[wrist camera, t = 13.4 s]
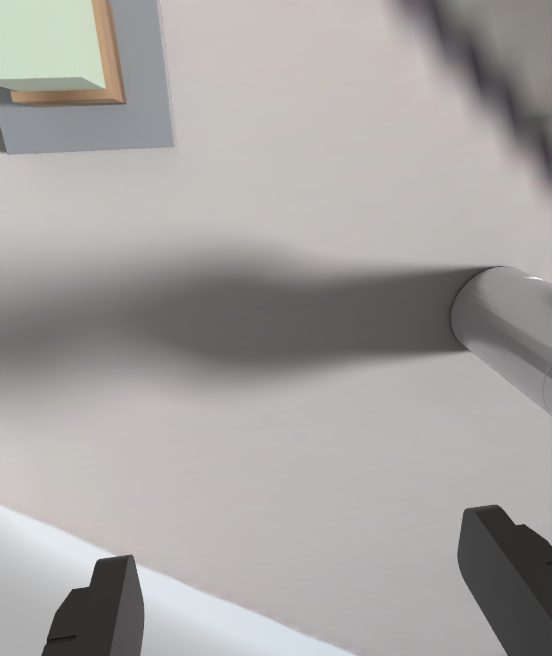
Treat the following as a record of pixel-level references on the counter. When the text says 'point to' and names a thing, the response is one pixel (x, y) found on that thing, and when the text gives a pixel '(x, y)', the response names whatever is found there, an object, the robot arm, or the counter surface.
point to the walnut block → (110, 67)
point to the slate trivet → (106, 120)
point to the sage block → (49, 46)
